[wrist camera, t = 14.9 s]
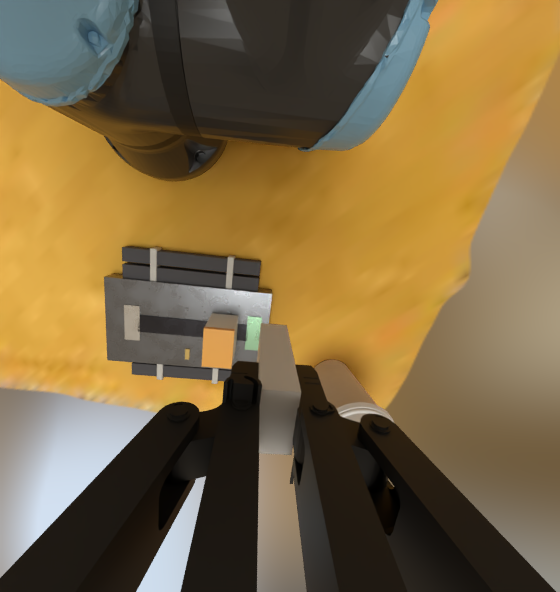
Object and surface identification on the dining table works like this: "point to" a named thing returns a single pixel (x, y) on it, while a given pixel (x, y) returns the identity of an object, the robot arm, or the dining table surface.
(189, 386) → the dining table surface
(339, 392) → the coffee cup
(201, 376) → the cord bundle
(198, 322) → the panel
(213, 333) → the lever
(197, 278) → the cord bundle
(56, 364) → the dining table surface
